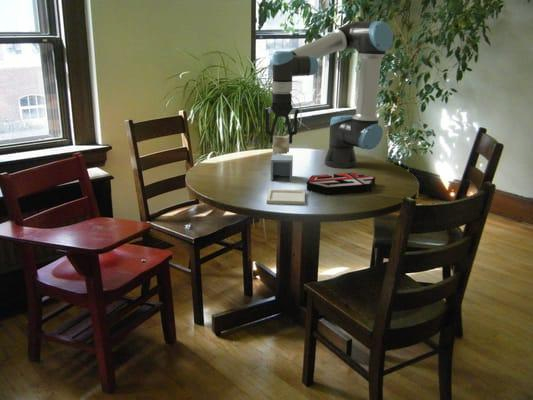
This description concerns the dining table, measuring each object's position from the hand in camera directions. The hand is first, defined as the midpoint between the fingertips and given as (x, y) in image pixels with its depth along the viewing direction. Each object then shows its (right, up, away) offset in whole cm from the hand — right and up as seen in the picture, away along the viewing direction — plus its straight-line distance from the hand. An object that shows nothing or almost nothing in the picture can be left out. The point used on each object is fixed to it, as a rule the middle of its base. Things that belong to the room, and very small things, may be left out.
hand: (280, 151), depth 213 cm
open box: (+1, -10, +17) cm, 19 cm away
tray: (+2, -19, -10) cm, 22 cm away
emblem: (+25, -15, +5) cm, 29 cm away
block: (0, 0, 0) cm, 0 cm away
